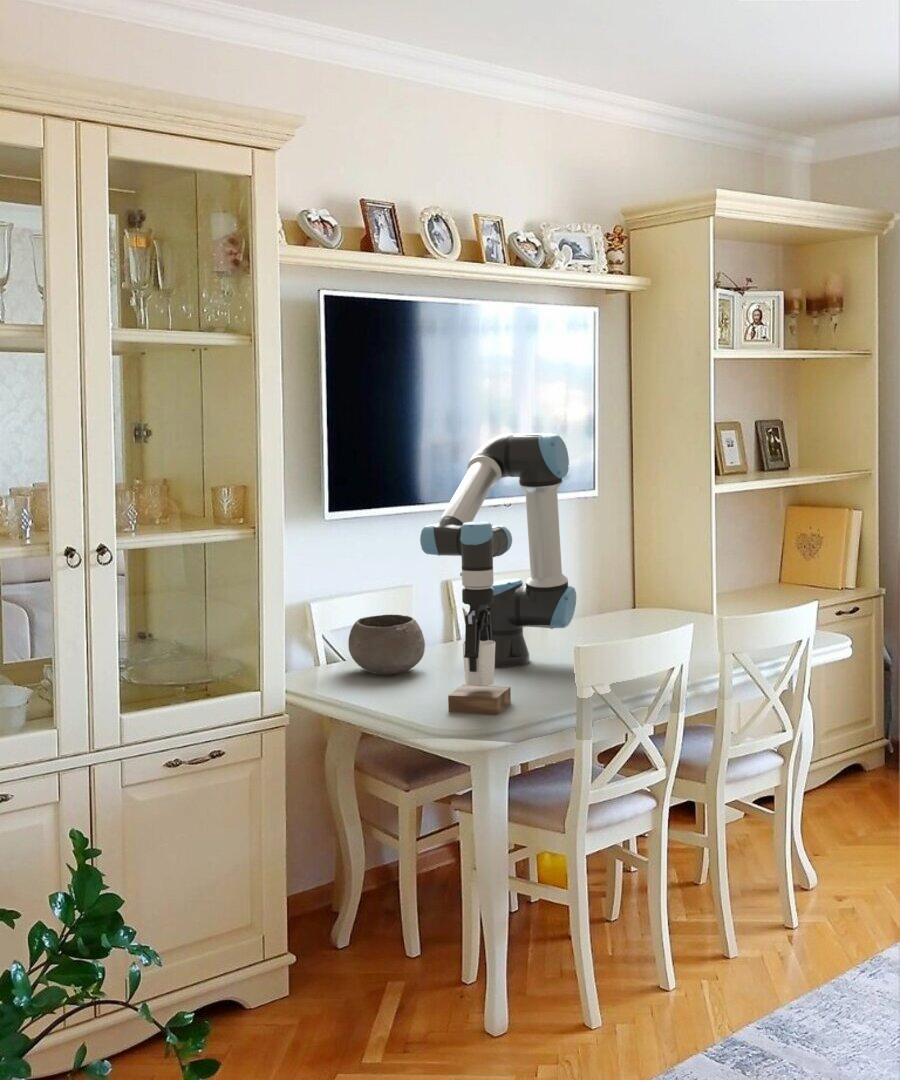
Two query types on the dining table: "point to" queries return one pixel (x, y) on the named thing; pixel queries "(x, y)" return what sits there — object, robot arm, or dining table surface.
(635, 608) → the dining table surface
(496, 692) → the walnut plinth
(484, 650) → the white cup
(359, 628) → the clay pot
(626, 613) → the dining table surface
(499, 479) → the robot arm
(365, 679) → the dining table surface
